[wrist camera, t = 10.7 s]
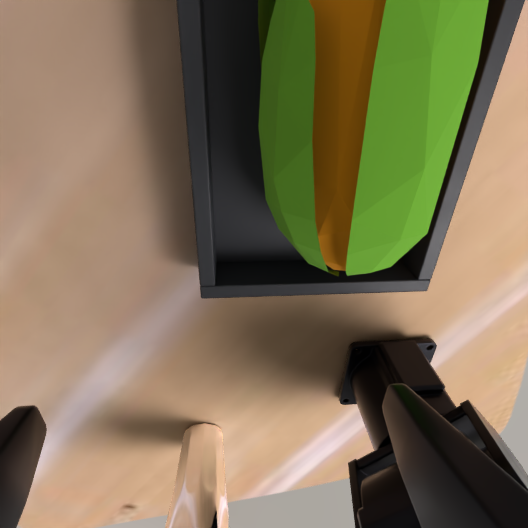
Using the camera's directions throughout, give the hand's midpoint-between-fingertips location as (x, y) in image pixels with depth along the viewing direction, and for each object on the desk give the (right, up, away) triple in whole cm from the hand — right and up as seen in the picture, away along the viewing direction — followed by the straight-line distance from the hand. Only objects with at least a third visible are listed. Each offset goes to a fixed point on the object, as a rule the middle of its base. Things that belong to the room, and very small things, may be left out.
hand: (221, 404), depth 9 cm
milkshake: (-4, -11, +21) cm, 24 cm away
